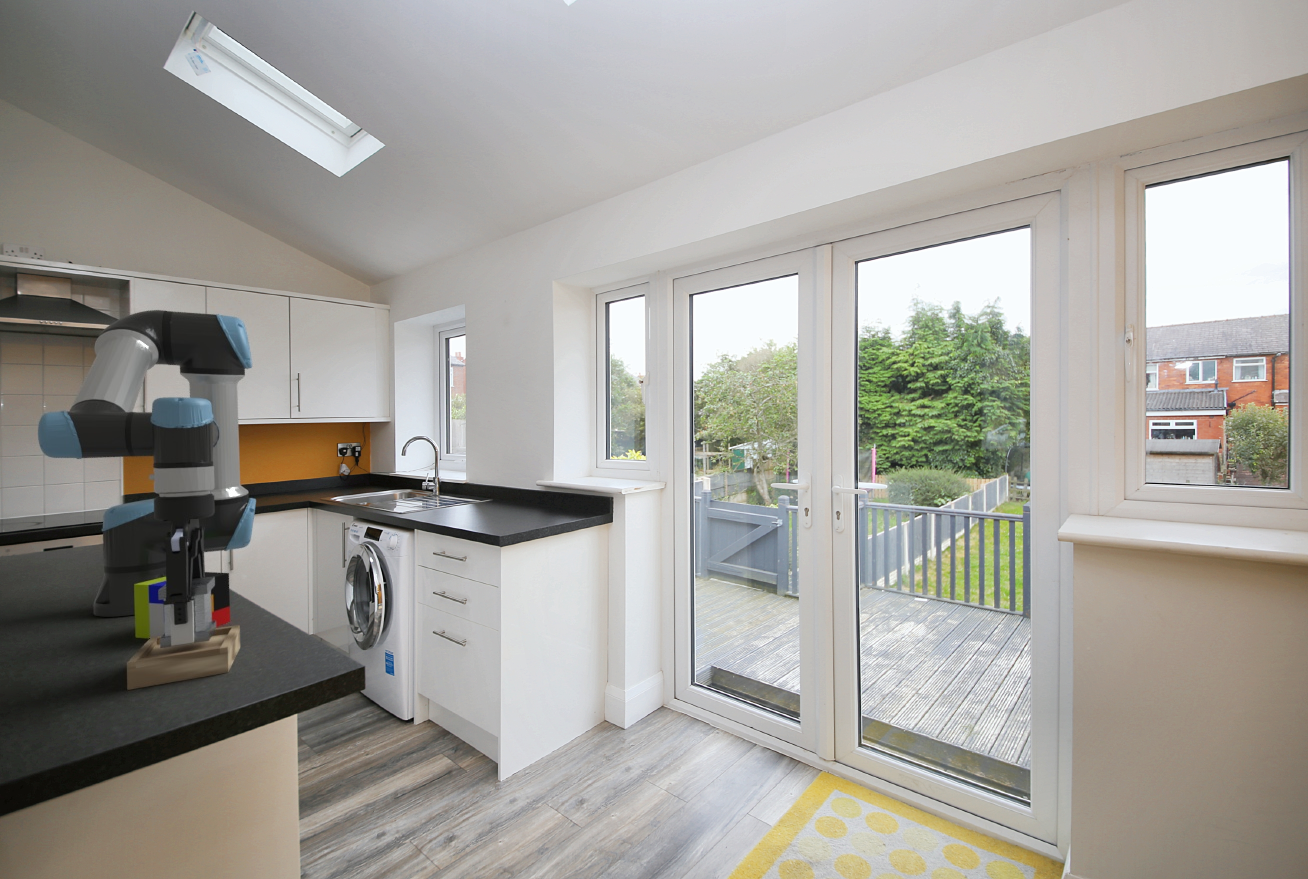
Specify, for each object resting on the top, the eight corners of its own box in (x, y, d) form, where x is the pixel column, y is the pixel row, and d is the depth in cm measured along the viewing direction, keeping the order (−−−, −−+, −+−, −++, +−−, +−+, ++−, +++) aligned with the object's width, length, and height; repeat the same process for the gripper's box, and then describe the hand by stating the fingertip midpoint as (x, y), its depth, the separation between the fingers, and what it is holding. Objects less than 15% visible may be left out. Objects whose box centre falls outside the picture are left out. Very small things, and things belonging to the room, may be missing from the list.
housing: (216, 629, 96) (214, 572, 96) (209, 640, 91) (206, 580, 91) (170, 636, 93) (168, 577, 93) (160, 648, 88) (158, 586, 88)
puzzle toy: (179, 641, 104) (177, 586, 104) (135, 637, 106) (134, 584, 106) (230, 622, 114) (228, 573, 113) (189, 620, 116) (188, 571, 115)
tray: (151, 661, 94) (151, 637, 94) (240, 647, 100) (239, 624, 100) (127, 689, 84) (126, 662, 84) (228, 672, 90) (227, 647, 89)
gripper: (170, 490, 98) (173, 623, 98) (135, 501, 81) (139, 662, 82) (224, 487, 102) (227, 616, 102) (201, 497, 85) (204, 651, 85)
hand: (188, 636), depth 92 cm, fingers closed on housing, 6 cm apart
